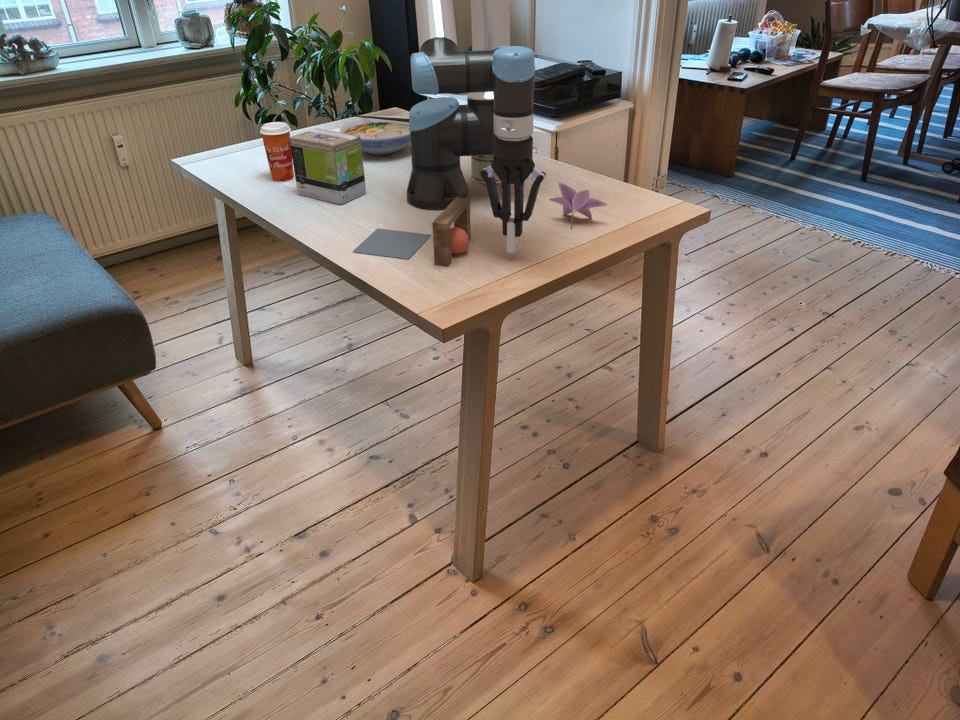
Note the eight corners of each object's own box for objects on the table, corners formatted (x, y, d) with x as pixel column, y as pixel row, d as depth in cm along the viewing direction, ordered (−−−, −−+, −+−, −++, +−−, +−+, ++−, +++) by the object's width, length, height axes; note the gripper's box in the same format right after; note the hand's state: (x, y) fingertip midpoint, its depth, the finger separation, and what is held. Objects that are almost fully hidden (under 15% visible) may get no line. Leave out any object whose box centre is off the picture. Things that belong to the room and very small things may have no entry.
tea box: (367, 193, 189) (361, 134, 181) (340, 206, 182) (333, 145, 174) (324, 183, 196) (316, 126, 188) (296, 194, 189) (287, 136, 181)
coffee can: (470, 171, 202) (469, 118, 194) (508, 170, 202) (509, 117, 194) (471, 184, 193) (470, 129, 185) (511, 184, 193) (512, 129, 186)
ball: (444, 225, 159) (468, 222, 157) (451, 249, 162) (474, 246, 160) (436, 234, 155) (460, 231, 153) (442, 259, 157) (466, 256, 155)
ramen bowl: (323, 158, 213) (319, 129, 209) (364, 136, 231) (361, 109, 226) (401, 168, 205) (399, 138, 200) (437, 145, 222) (436, 117, 218)
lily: (610, 232, 169) (614, 189, 169) (577, 225, 161) (580, 180, 161) (569, 234, 178) (573, 193, 177) (536, 227, 170) (539, 184, 169)
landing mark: (377, 229, 170) (377, 228, 170) (431, 235, 166) (431, 234, 166) (352, 252, 160) (352, 251, 159) (408, 259, 156) (408, 258, 156)
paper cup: (265, 183, 196) (256, 130, 189) (271, 174, 203) (262, 121, 195) (295, 183, 197) (287, 129, 189) (300, 173, 203) (292, 120, 195)
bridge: (434, 264, 154) (432, 222, 149) (457, 237, 165) (456, 197, 160) (448, 266, 153) (446, 224, 148) (470, 238, 165) (469, 198, 160)
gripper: (474, 138, 141) (476, 253, 154) (541, 144, 137) (538, 261, 150) (486, 127, 147) (487, 239, 160) (551, 132, 143) (547, 246, 156)
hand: (512, 249), depth 155 cm, fingers closed
